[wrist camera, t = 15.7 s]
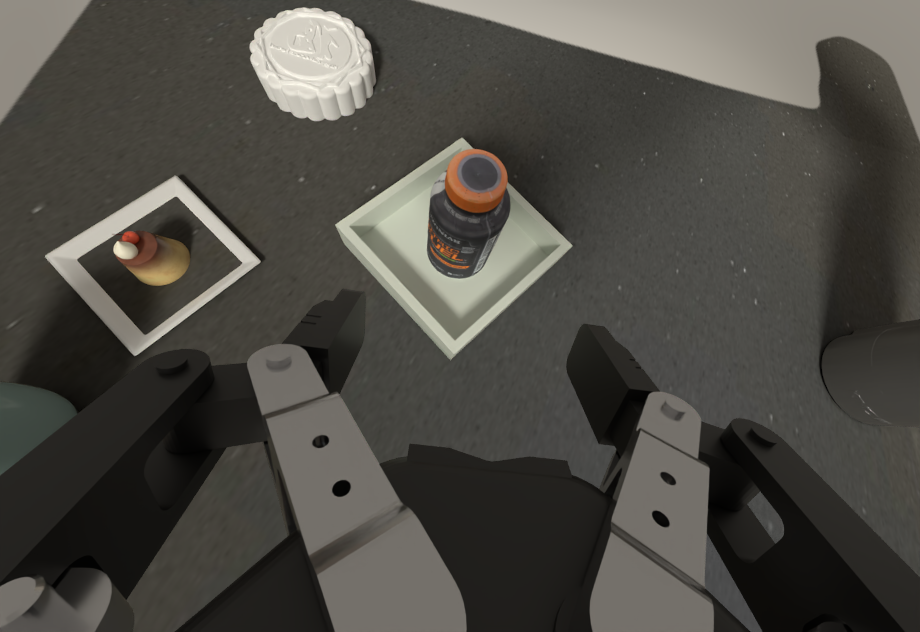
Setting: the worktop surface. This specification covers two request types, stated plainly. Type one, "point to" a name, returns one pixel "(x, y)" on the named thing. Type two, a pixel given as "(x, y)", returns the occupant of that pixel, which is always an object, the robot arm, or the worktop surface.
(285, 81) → the mooncake
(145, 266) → the dessert
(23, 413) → the cup
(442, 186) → the pill bottle
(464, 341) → the tray
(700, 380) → the worktop surface
